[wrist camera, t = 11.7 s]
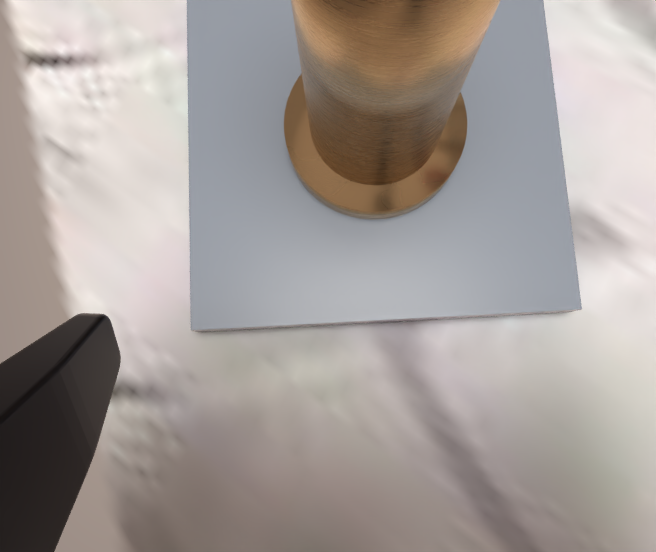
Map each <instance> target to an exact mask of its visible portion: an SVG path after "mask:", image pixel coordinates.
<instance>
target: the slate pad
mask: <svg viewBox="0 0 656 552" xmlns="http://www.w3.org/2000/svg"><path fill="white" fill-rule="evenodd" d="M187 50H188V133H189V216H190V299H191V330H192V331H197V332H208V331H227V330H245V329H264V328H283V327H301V326H320V325H339V324H358V323H376V322H395V321H414V320H432V319H451V318H470V317H488V316H507V315H526V314H544V313H563V312H572V311H576V310H581V309H582V307H581V299H580V291H579V283H578V275H577V267H576V259H575V251H574V243H573V235H572V227H571V219H570V211H569V203H568V195H567V187H566V179H565V171H564V163H563V155H562V147H561V139H560V131H559V123H558V115H557V107H556V99H555V91H554V83H553V75H552V67H551V59H550V51H549V43H548V35H547V27H546V19H545V11H544V3H543V0H500V2H499V5H498V7H497V9H496V12H495V14H494V16H493V18H492V21H491V23H490V25H489V27H488V30H487V32H486V34H485V37H484V39H483V41H482V43H481V46H480V48H479V50H478V52H477V55H476V57H475V59H474V62H473V64H472V66H471V68H470V71H469V73H468V75H467V78H466V80H465V82H464V84H463V87H462V89H461V91H460V92H461V94H462V97H463V100H464V103H465V108H466V113H467V136H466V141H465V146H464V149H463V152H462V155H461V157H460V159H459V161H458V163H457V165H456V167H455V169H454V171H453V172H452V174H451V176H450V177H449V179H448V180H447V182H446V183H445V185H444V186H443V187H442V189H441V190H440V191H439V192H438V193H437V194H436V195H435V196H434V197H433V198H432V199H430V200H429V201H428V202H427V203H425V204H424V205H422V206H420V207H419V208H417V209H415V210H413V211H411V212H409V213H407V214H404V215H400V216H397V217H393V218H387V219H376V220H370V219H360V218H355V217H350V216H347V215H344V214H341V213H338V212H336V211H334V210H332V209H330V208H328V207H327V206H325V205H324V204H322V203H321V202H319V201H318V200H317V199H316V198H315V197H314V196H313V195H311V194H310V193H309V191H308V190H307V189H306V188H305V187H304V186H303V184H302V183H301V181H300V180H299V178H298V176H297V175H296V172H295V170H294V168H293V166H292V163H291V160H290V157H289V153H288V149H287V146H286V141H285V135H284V114H285V108H286V104H287V100H288V97H289V95H290V92H291V90H292V88H293V86H294V84H295V82H296V80H297V79H298V77H299V76H300V75H301V73H302V72H301V65H300V59H299V52H298V45H297V38H296V32H295V25H294V18H293V12H292V5H291V0H187Z"/></svg>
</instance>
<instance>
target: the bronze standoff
mask: <svg viewBox="0 0 656 552" xmlns="http://www.w3.org/2000/svg"><path fill="white" fill-rule="evenodd" d="M499 2H500V0H291V5H292V12H293V18H294V25H295V32H296V38H297V45H298V52H299V59H300V65H301V72H302V73H301V75H300V76H299V77H298V79H297V80H296V82H295V84H294V86H293V88H292V90H291V92H290V95H289V97H288V100H287V104H286V108H285V114H284V135H285V141H286V146H287V149H288V153H289V157H290V160H291V163H292V166H293V168H294V170H295V172H296V175H297V176H298V178H299V180H300V181H301V183H302V184H303V186H304V187H305V188H306V189H307V190H308V191H309V193H310V194H311V195H313V196H314V197H315V198H316V199H317V200H318V201H319V202H321V203H322V204H324V205H325V206H327V207H328V208H330V209H332V210H334V211H336V212H338V213H341V214H344V215H347V216H350V217H355V218H360V219H370V220H376V219H387V218H393V217H397V216H400V215H404V214H407V213H409V212H411V211H413V210H415V209H417V208H419V207H420V206H422V205H424V204H425V203H427V202H428V201H429V200H430V199H432V198H433V197H434V196H435V195H436V194H437V193H438V192H439V191H440V190H441V189H442V187H443V186H444V185H445V183H446V182H447V180H448V179H449V177H450V176H451V174H452V172H453V171H454V169H455V167H456V165H457V163H458V161H459V159H460V157H461V155H462V152H463V149H464V146H465V141H466V136H467V113H466V108H465V103H464V100H463V97H462V94H461V92H460V91H461V89H462V87H463V84H464V82H465V80H466V78H467V75H468V73H469V71H470V68H471V66H472V64H473V62H474V59H475V57H476V55H477V52H478V50H479V48H480V46H481V43H482V41H483V39H484V37H485V34H486V32H487V30H488V27H489V25H490V23H491V21H492V18H493V16H494V14H495V12H496V9H497V7H498V5H499Z"/></svg>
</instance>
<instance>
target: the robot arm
mask: <svg viewBox="0 0 656 552" xmlns="http://www.w3.org/2000/svg"><path fill="white" fill-rule="evenodd" d="M120 360H121V357H120V351H119V347H118V344H117V341H116V337H115V334H114V330H113V327H112V324H111V321H110V319H109V318H108V316H106V315H104V314H90V313H82V314H78V315H76V316H74V317H73V318H71V319H69V320H68V321H66V322H65V323H63V324H62V325H60V326H59V327H57V328H56V329H54V330H53V331H51V332H49V333H48V334H46V335H44V336H43V337H41V338H40V339H38V340H37V341H35V342H34V343H32V344H31V345H29V346H27V347H26V348H24V349H23V350H21V351H19V352H18V353H16V354H15V355H13V356H12V357H10V358H9V359H7V360H5V361H4V362H2V363H1V364H0V552H54V551H55V549H56V546H57V544H58V541H59V539H60V537H61V534H62V531H63V529H64V527H65V525H66V522H67V520H68V517H69V515H70V513H71V510H72V508H73V505H74V503H75V501H76V498H77V495H78V493H79V491H80V489H81V486H82V484H83V481H84V479H85V476H86V474H87V472H88V469H89V467H90V464H91V462H92V459H93V456H94V453H95V450H96V447H97V444H98V441H99V437H100V434H101V430H102V427H103V423H104V420H105V417H106V413H107V410H108V406H109V403H110V399H111V396H112V392H113V389H114V385H115V382H116V379H117V375H118V372H119V368H120Z"/></svg>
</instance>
